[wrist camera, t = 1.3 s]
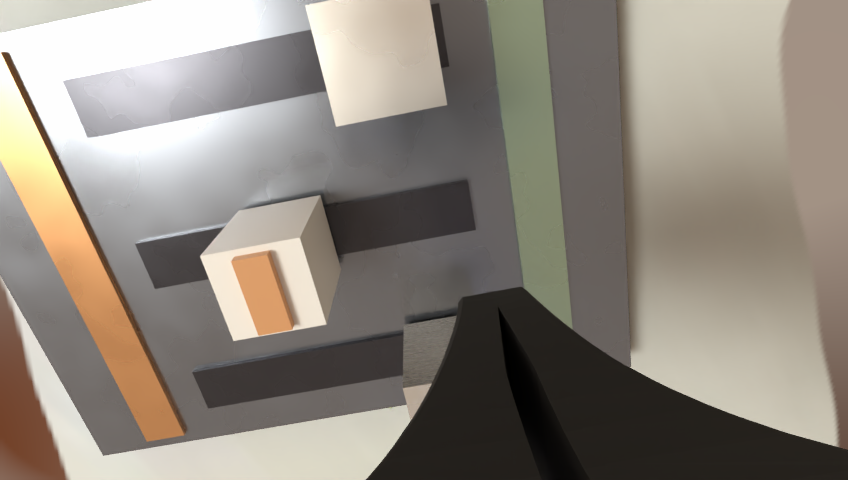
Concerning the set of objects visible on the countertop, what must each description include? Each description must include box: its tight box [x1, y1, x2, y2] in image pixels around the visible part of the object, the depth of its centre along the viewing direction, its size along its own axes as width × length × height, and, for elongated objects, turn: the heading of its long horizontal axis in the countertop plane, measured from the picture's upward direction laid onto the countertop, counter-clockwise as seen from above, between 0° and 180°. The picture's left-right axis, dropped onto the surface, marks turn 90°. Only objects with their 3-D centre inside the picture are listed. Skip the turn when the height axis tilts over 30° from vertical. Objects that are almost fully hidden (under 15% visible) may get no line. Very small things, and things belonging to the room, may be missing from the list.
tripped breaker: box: [200, 195, 341, 341], centre depth 16 cm, size 3×3×4 cm
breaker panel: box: [0, 0, 631, 456], centre depth 17 cm, size 16×22×5 cm
